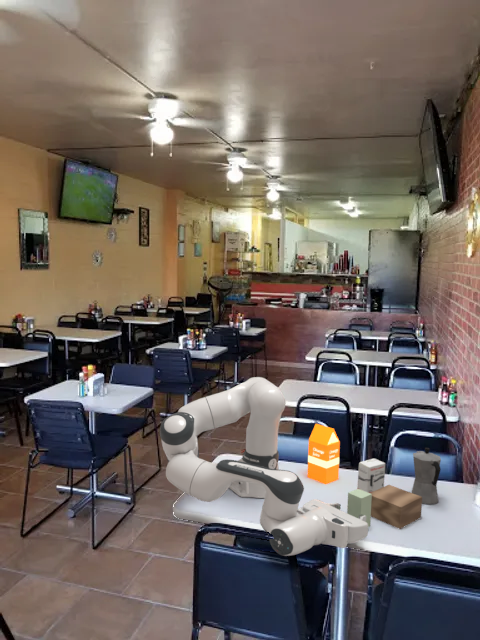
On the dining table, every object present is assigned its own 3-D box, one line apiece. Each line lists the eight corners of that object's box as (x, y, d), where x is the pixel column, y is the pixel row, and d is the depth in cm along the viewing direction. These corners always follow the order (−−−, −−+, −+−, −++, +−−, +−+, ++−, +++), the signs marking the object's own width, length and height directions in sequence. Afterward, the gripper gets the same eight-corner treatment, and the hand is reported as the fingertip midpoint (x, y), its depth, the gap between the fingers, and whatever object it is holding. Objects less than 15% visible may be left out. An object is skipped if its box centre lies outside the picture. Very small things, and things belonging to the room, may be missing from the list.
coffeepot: (403, 491, 180) (405, 441, 179) (428, 490, 181) (431, 441, 180) (423, 511, 165) (425, 457, 163) (450, 510, 166) (453, 456, 164)
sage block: (346, 524, 155) (348, 492, 154) (356, 519, 158) (358, 488, 157) (360, 530, 151) (361, 498, 150) (370, 526, 154) (371, 494, 153)
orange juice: (320, 472, 196) (321, 421, 195) (338, 479, 190) (340, 427, 188) (307, 477, 191) (308, 425, 189) (325, 484, 184) (327, 430, 183)
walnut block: (366, 515, 162) (367, 493, 161) (387, 504, 169) (388, 484, 169) (399, 529, 153) (401, 507, 152) (421, 518, 160) (422, 496, 160)
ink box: (367, 500, 172) (368, 466, 171) (356, 495, 176) (357, 462, 175) (384, 495, 176) (385, 462, 176) (373, 490, 181) (374, 457, 180)
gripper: (293, 521, 150) (324, 509, 159) (348, 551, 134) (379, 535, 143) (293, 500, 150) (325, 489, 158) (349, 528, 134) (380, 513, 143)
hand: (351, 511), depth 151 cm, fingers open, 8 cm apart
